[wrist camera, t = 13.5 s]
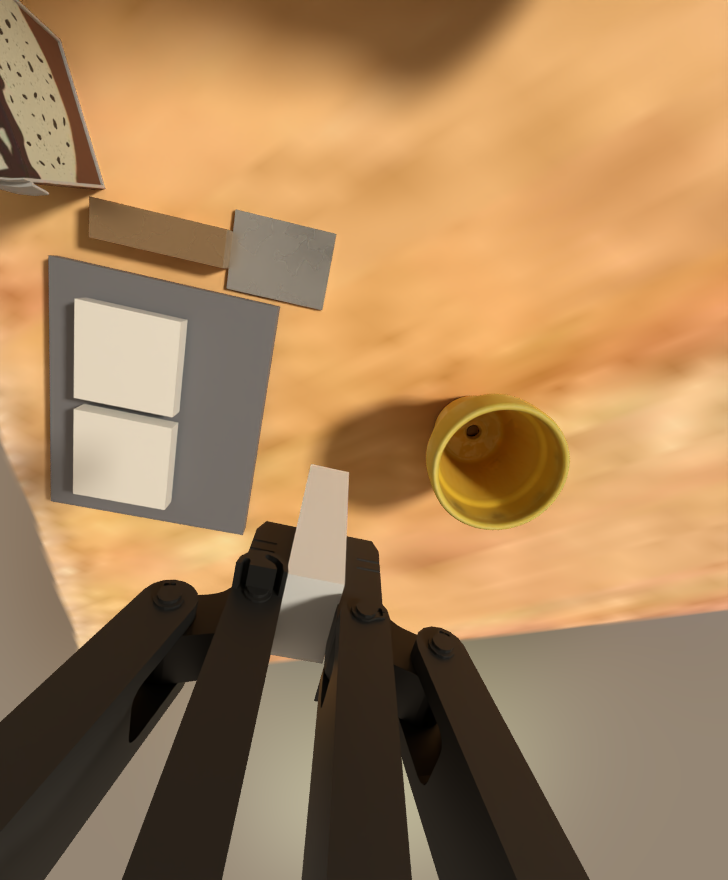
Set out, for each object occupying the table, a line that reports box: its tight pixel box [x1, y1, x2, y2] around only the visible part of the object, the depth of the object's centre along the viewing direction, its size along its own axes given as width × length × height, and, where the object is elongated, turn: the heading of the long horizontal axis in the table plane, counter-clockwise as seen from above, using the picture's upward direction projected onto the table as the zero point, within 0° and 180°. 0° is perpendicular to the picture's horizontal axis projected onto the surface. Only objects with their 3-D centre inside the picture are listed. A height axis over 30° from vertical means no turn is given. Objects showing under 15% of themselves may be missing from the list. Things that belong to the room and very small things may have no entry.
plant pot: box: [426, 394, 570, 530], centre depth 38 cm, size 10×10×10 cm
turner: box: [89, 196, 336, 310], centre depth 36 cm, size 18×6×2 cm, turn 77°
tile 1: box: [74, 297, 188, 417], centre depth 38 cm, size 8×2×8 cm
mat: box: [49, 255, 280, 535], centre depth 41 cm, size 22×18×1 cm
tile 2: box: [73, 404, 178, 510], centre depth 41 cm, size 8×2×8 cm
